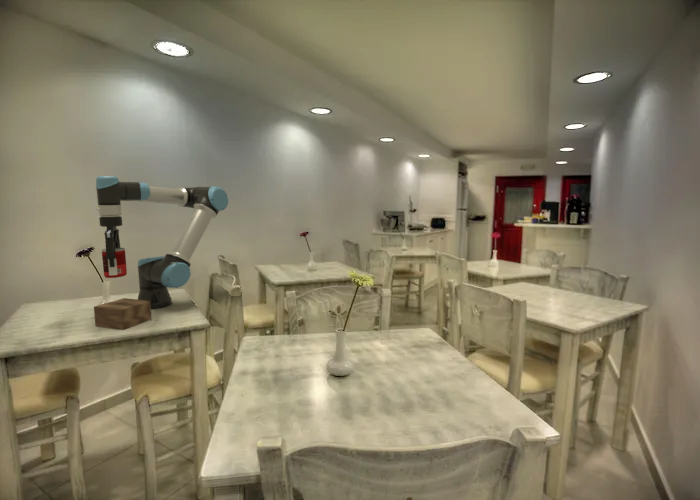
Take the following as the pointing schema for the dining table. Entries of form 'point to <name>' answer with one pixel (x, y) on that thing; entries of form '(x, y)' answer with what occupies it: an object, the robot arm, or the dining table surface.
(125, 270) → the canned food
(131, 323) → the walnut block
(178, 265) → the robot arm
